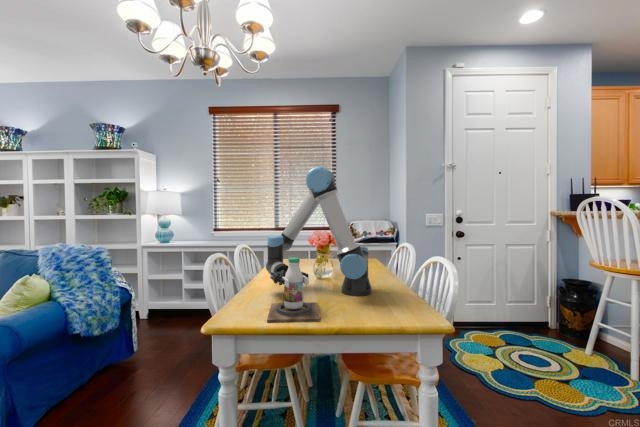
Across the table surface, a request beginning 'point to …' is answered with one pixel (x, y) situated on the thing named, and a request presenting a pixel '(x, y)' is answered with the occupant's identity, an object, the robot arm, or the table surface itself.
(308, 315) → the collar stand
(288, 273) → the milk bottle
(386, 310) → the table surface
